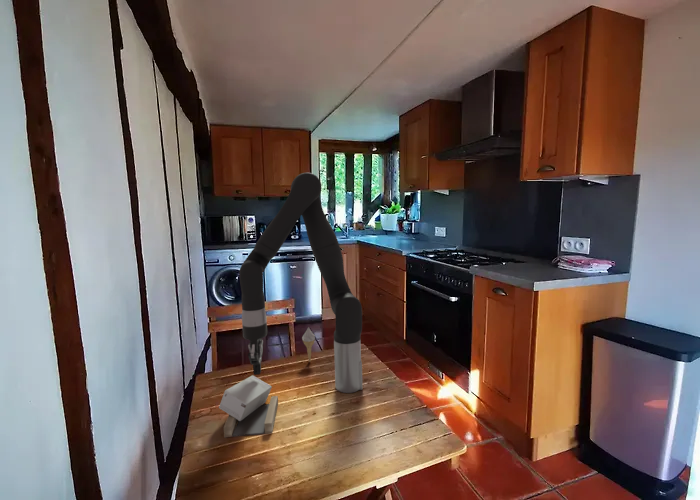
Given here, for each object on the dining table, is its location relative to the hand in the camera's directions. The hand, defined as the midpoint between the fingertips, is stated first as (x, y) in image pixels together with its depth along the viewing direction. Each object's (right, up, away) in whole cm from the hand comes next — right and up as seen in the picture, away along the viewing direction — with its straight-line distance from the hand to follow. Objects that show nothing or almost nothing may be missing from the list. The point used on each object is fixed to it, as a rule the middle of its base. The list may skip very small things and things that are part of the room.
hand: (257, 373), depth 107 cm
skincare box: (+1, -5, +2) cm, 6 cm away
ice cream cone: (+13, -6, +29) cm, 33 cm away
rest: (+1, -10, -9) cm, 14 cm away
